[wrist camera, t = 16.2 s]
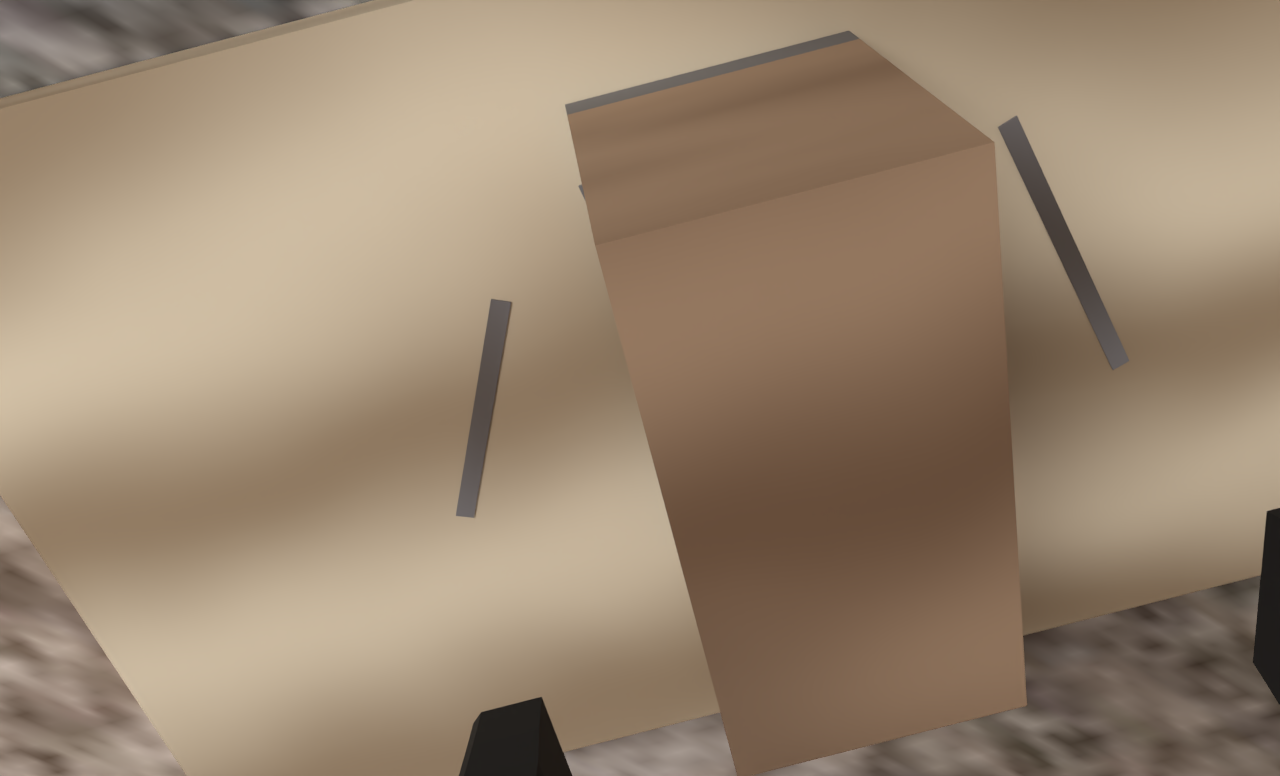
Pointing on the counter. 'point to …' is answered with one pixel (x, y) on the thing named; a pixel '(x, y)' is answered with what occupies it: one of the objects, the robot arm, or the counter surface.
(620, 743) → the counter surface
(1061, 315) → the board
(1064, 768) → the counter surface
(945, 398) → the sanding block
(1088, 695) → the counter surface
